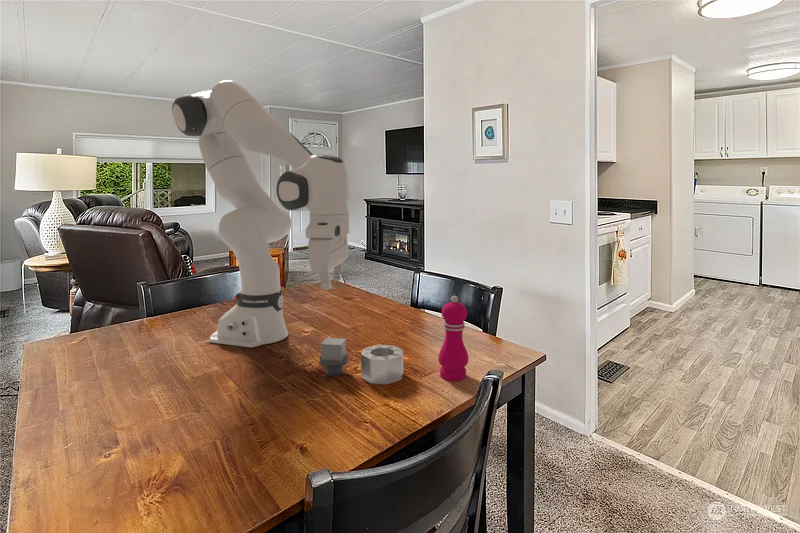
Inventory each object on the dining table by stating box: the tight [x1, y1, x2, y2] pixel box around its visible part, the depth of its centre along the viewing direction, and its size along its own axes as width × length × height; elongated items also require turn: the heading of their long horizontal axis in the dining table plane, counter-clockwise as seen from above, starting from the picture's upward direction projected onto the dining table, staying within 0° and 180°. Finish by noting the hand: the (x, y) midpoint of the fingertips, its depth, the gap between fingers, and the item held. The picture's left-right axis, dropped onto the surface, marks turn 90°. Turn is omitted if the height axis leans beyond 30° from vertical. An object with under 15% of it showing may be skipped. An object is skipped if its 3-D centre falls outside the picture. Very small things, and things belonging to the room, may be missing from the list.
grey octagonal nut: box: [360, 344, 404, 385], centre depth 112 cm, size 10×10×6 cm
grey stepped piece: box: [319, 337, 349, 378], centre depth 113 cm, size 7×7×8 cm
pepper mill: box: [437, 295, 469, 382], centre depth 111 cm, size 7×7×20 cm
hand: (332, 284), depth 110 cm, fingers open, 8 cm apart
